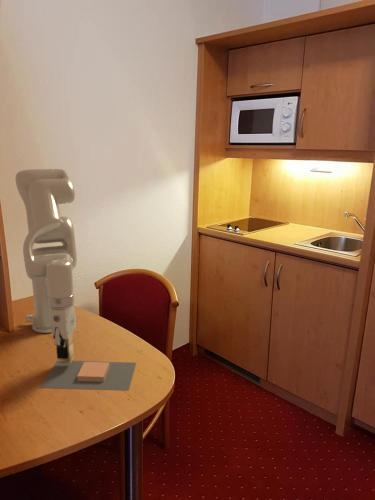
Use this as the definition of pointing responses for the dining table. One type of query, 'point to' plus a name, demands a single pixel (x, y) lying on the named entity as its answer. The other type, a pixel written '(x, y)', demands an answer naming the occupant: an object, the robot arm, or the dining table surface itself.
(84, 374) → the tile
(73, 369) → the mat
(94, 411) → the dining table surface
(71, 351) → the light wood block
